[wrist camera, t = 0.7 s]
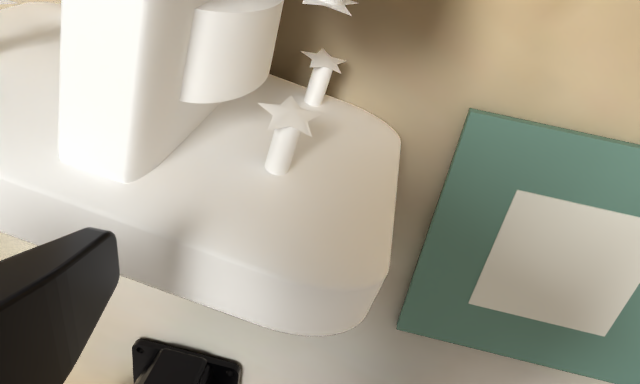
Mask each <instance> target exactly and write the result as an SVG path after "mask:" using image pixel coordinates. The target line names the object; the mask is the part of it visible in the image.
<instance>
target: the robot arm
mask: <svg viewBox="0 0 640 384" xmlns="http://www.w3.org/2000/svg"><path fill="white" fill-rule="evenodd" d="M119 275H120V268H119V258H118V248H117V239H116V236H115V234H114V233H113V232H111V231H108V230H103V229H99V228H94V227H86V228H83V229H81V230H78V231H76V232H73V233H71V234H68V235H65V236H63V237H60V238H58V239H55V240H53V241H50V242H48V243H45V244H42V245H40V246H37V247H35V248H32V249H30V250H27V251H24V252H22V253H19V254H17V255H14V256H12V257H9V258H7V259H4V260H1V261H0V384H63V383H64V381H65V380H66V378H67V377H68V375H69V374H70V372H71V370H72V369H73V367H74V365H75V364H76V362H77V360H78V358H79V356H80V355H81V353H82V351H83V349H84V347H85V345H86V343H87V341H88V339H89V338H90V336H91V334H92V332H93V330H94V328H95V326H96V324H97V322H98V320H99V319H100V317H101V315H102V313H103V311H104V309H105V307H106V305H107V303H108V301H109V299H110V298H111V296H112V294H113V292H114V290H115V288H116V286H117V283H118V280H119ZM132 356H133V375H134V384H239V382H240V374H241V368H240V367H239V366H238V365H237V364H235V363H232V362H228V361H224V360H221V359H217V358H213V357H209V356H205V355H201V354H197V353H194V352H190V351H186V350H182V349H178V348H174V347H170V346H167V345H163V344H159V343H155V342H151V341H147V340H143V339H138V340H137V341H136V342H135V343H134V345H133V347H132Z"/></svg>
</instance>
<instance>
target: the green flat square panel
mask: <svg viewBox="0 0 640 384" xmlns="http://www.w3.org/2000/svg"><path fill="white" fill-rule="evenodd" d="M397 330H401V331H405V332H409V333H413V334H417V335H421V336H425V337H429V338H434V339H438V340H442V341H446V342H450V343H454V344H458V345H462V346H466V347H470V348H474V349H478V350H482V351H486V352H490V353H494V354H498V355H502V356H506V357H510V358H514V359H518V360H522V361H526V362H530V363H534V364H538V365H542V366H546V367H550V368H554V369H558V370H562V371H566V372H570V373H574V374H578V375H582V376H586V377H590V378H594V379H598V380H602V381H606V382H611V383H615V384H640V145H638V144H634V143H629V142H624V141H620V140H615V139H610V138H606V137H601V136H597V135H592V134H587V133H583V132H578V131H573V130H569V129H564V128H560V127H555V126H550V125H546V124H541V123H537V122H532V121H527V120H523V119H518V118H513V117H509V116H504V115H500V114H495V113H490V112H486V111H481V110H476V109H472V108H470V109H469V112H468V115H467V118H466V121H465V124H464V127H463V130H462V132H461V135H460V138H459V141H458V144H457V147H456V150H455V153H454V156H453V159H452V162H451V165H450V168H449V171H448V174H447V177H446V180H445V183H444V186H443V189H442V192H441V195H440V198H439V200H438V203H437V206H436V209H435V212H434V215H433V218H432V221H431V224H430V227H429V230H428V233H427V236H426V239H425V242H424V245H423V248H422V251H421V254H420V257H419V260H418V263H417V266H416V269H415V271H414V274H413V277H412V280H411V283H410V286H409V289H408V292H407V295H406V298H405V301H404V304H403V307H402V310H401V313H400V316H399V319H398V322H397Z"/></svg>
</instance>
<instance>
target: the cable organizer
mask: <svg viewBox="0 0 640 384" xmlns="http://www.w3.org/2000/svg"><path fill="white" fill-rule="evenodd" d="M15 3H17V2H13V1H9V0H0V4H15ZM283 3H284V0H61V3H54V2H28V3H23V4H19V5H16V6H12V7H8V8H4V9H0V232H2V233H5V234H8V235H10V236H13V237H16V238H19V239H21V240H24V241H27V242H30V243H32V244H35V245H38V246H40V245H42V244H45V243H48V242H50V241H53V240H55V239H58V238H60V237H63V236H65V235H68V234H71V233H73V232H76V231H78V230H81V229H83V228H86V227H94V228H99V229H103V230H108V231H111V232H113V233H114V234H115V236H116V239H117V248H118V258H119V268H120V275H121V276H123V277H126V278H129V279H132V280H135V281H137V282H140V283H143V284H146V285H148V286H151V287H154V288H157V289H159V290H162V291H165V292H168V293H170V294H173V295H176V296H179V297H181V298H184V299H187V300H190V301H193V302H195V303H198V304H201V305H204V306H206V307H209V308H212V309H215V310H217V311H220V312H223V313H226V314H228V315H231V316H234V317H237V318H239V319H242V320H245V321H248V322H251V323H253V324H256V325H259V326H262V327H265V328H268V329H271V330H275V331H279V332H282V333H287V334H293V335H301V336H328V335H336V334H339V333H343V332H346V331H348V330H350V329H352V328H354V327H356V326H357V325H358V324H359V323H361V322H362V321H363V319H364V318H365V317H366V315H367V313H368V311H369V309H370V307H371V305H372V303H373V302H374V300H375V298H376V296H377V294H378V292H379V290H380V288H381V286H382V284H383V282H384V280H385V278H386V276H387V274H388V271H389V267H390V258H391V247H392V236H393V226H394V215H395V204H396V194H397V183H398V172H399V162H400V151H401V139H400V137H399V135H398V134H397V133H396V131H395V130H394V129H393V128H392V127H391V126H390V125H388V124H387V123H386V122H384V121H383V120H381V119H380V118H378V117H377V116H375V115H373V114H372V113H370V112H368V111H366V110H364V109H362V108H360V107H357V106H355V105H353V104H350V103H348V102H345V101H342V100H339V99H337V98H334V97H331V96H329V95H326V94H325V93H326V90H327V87H328V84H329V81H330V78H331V75H332V72H333V70H334V71H336V72H338V73H340V74H341V72H340V70H339V68H338V66H337V64H340V63H343V62H347V61H345V60H342V59H338V58H335V57H331V56H330V55H329V54H328V53H327V52H326V51H325V50H324V49H323V48H322V49H321V50H320V51H318V52H317V53H311V52H304V51H300V52H302V53H303V54H305V55H306V56H308V57H309V58H311V59H312V61H311V64H310V67H313V71H312V74H311V77H310V80H309V83H308V87H304V86H301V85H298V84H296V83H293V82H290V81H287V80H285V79H282V78H279V77H277V76H274V75H271V74H269V72H270V67H271V62H272V57H273V52H274V47H275V42H276V38H277V33H278V28H279V23H280V18H281V13H282V8H283ZM302 4H312V5H323V6H326V7H329V8H331V9H334V10H337V11H339V12H342V13H345V14H347V15H350V16H351V14H350V13H349V11H348V10H347V8H346V7H345V5H349V4H358V3H357V2H354V1H351V0H303V2H302Z"/></svg>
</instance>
